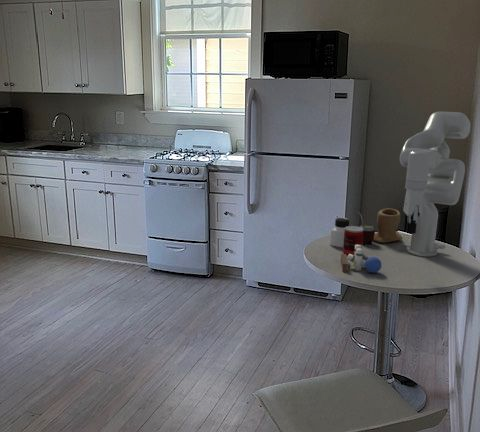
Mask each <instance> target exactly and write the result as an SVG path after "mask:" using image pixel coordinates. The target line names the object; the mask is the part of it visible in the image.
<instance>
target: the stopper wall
mask: <svg viewBox="0 0 480 432" xmlns="http://www.w3.org/2000/svg"><path fill="white" fill-rule="evenodd" d="M347 257H348V255H346V254H344V253H341V254H340V265H341V271H342V272H345V273H346V272H347V273H348V272H349V260H348V259H347Z"/></svg>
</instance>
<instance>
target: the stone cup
mask: <svg viewBox="0 0 480 432" xmlns="http://www.w3.org/2000/svg"><path fill="white" fill-rule="evenodd" d="M400 222H401V213H400V211H399V210H397V209H394V208H389V207H388V208H387V207H386V208H383V209H380V210H379V211H378V212H377V217H376V227H377V233H375V235H374V239H373V241H374V242H378V243H389V242H395V241H397V242H398V241H401V240H403V236H402V234H400V231H397V229H398V227H399V225H400Z"/></svg>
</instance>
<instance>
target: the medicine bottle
mask: <svg viewBox="0 0 480 432" xmlns="http://www.w3.org/2000/svg"><path fill="white" fill-rule="evenodd" d="M347 226H350V219H348V218H346V217H338V218H335V222H334V228H333V229H331V230H330V240H329V241H330V243H329V246H332V247H337V248H342V249H343V243H344V231H345V227H347Z"/></svg>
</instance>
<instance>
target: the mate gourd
mask: <svg viewBox="0 0 480 432" xmlns="http://www.w3.org/2000/svg"><path fill="white" fill-rule="evenodd" d="M356 213H358V214H359V215H360V219H361V223H362V224H361V225H360V226H359V227H361V228H363V241H362V246H365V245H366V244H367V245H374V244H373V241H374V240H373V239H374V235H375V234H376V233H375V232H376V231H375V227H374V225H371V224H364V220H363V219H364V217H363V215H362V214H361V213H360V212H359V211H357V210H356Z"/></svg>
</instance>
